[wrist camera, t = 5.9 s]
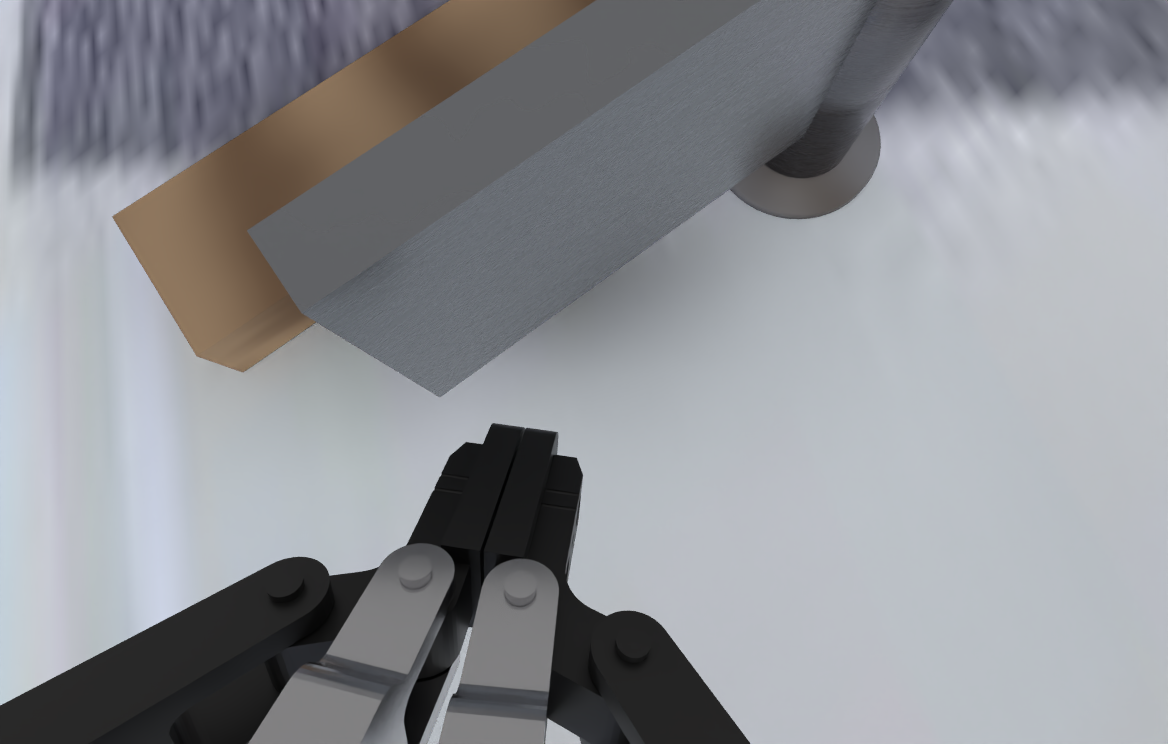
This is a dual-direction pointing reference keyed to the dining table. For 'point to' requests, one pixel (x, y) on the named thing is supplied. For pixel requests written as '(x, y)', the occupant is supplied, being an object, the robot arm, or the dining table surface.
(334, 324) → the bar
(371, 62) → the door edge
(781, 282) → the dining table surface
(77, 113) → the dining table surface
